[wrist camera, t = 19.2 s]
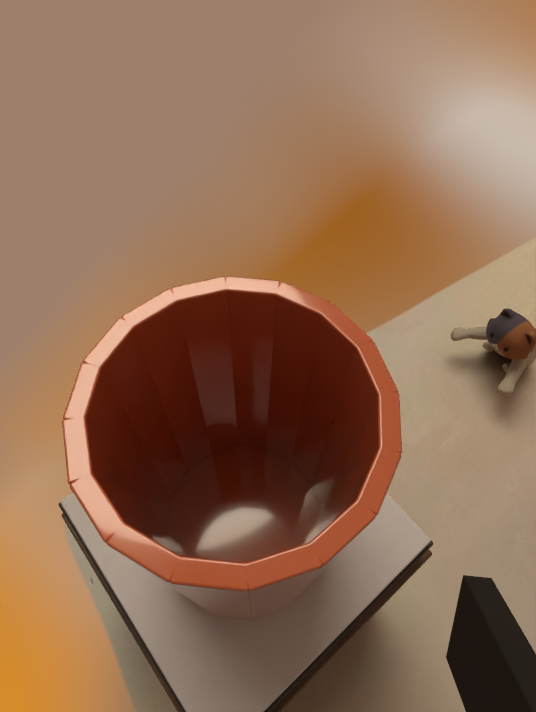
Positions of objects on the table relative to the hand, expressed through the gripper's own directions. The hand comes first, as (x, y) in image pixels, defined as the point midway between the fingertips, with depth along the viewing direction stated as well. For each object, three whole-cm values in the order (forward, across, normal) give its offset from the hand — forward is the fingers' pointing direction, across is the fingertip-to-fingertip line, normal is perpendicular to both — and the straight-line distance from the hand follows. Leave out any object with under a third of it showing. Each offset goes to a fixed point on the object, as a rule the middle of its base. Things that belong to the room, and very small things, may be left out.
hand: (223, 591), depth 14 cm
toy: (+37, +25, 0) cm, 45 cm away
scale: (+9, 0, -4) cm, 10 cm away
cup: (+7, 0, -2) cm, 7 cm away
